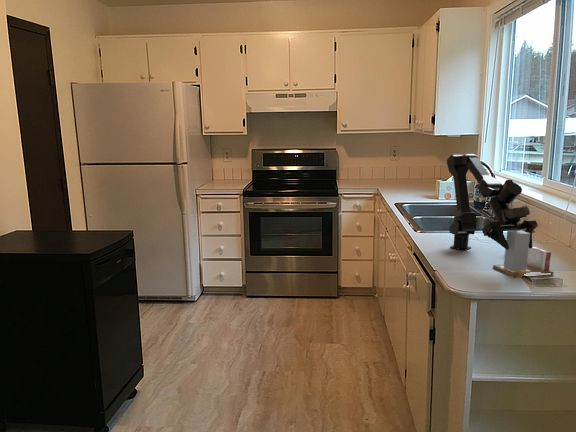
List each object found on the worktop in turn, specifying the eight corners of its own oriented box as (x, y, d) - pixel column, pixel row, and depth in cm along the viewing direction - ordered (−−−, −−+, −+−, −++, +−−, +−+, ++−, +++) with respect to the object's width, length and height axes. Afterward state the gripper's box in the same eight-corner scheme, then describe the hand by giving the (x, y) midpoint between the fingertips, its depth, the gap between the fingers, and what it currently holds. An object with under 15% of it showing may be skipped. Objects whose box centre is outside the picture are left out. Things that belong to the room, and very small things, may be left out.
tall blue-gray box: (503, 267, 166) (507, 231, 163) (517, 266, 167) (521, 230, 164) (512, 270, 161) (516, 233, 159) (526, 269, 162) (530, 233, 160)
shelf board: (513, 277, 158) (516, 254, 156) (493, 268, 168) (495, 246, 167) (553, 275, 161) (556, 252, 160) (530, 265, 172) (532, 244, 170)
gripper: (490, 198, 161) (508, 237, 153) (537, 197, 165) (557, 235, 157) (474, 216, 170) (491, 254, 162) (519, 215, 174) (537, 251, 166)
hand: (519, 248), depth 161 cm, fingers open, 9 cm apart
